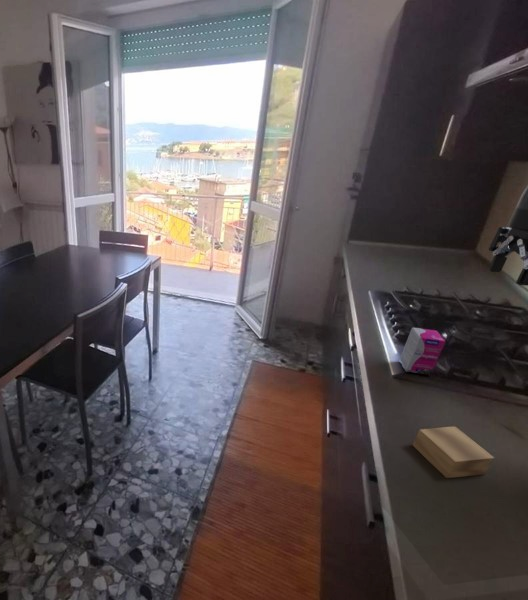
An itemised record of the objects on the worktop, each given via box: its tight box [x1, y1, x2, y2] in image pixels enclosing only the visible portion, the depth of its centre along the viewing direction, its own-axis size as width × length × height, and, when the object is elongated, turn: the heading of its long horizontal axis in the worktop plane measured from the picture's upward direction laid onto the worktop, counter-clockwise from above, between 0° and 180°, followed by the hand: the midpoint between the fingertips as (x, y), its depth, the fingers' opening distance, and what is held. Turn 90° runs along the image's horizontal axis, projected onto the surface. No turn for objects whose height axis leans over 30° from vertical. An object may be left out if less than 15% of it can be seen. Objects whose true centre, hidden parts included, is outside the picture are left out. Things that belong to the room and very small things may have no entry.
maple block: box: [412, 425, 495, 479], centre depth 70 cm, size 8×8×4 cm
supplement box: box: [399, 327, 446, 371], centre depth 96 cm, size 6×6×12 cm
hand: (507, 277), depth 83 cm, fingers open, 8 cm apart
